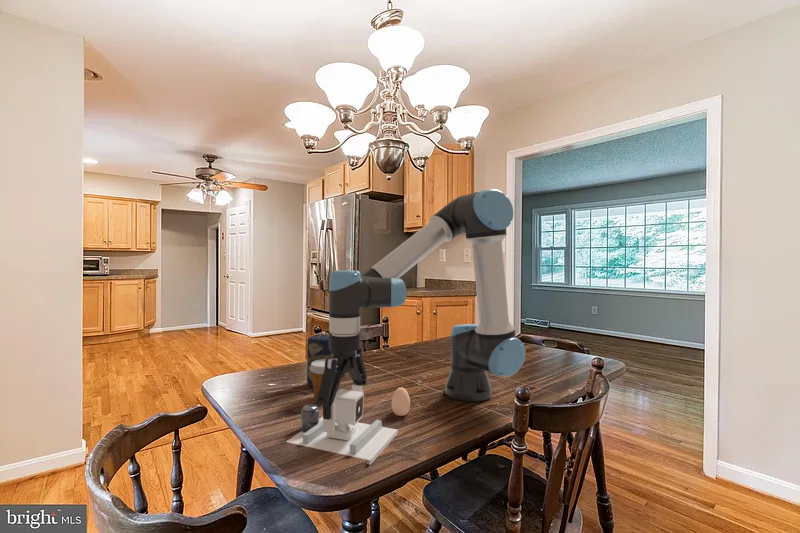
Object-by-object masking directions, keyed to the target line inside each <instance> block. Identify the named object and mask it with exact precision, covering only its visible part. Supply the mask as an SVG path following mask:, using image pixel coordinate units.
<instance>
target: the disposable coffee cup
mask: <svg viewBox="0 0 800 533" xmlns="http://www.w3.org/2000/svg"><path fill="white" fill-rule="evenodd" d="M325 360H326V359H324V360H317V361H314V362H312V363H311V366H310V371H311V374H312V382H313V386H312V390H313V398H314V401H315V402H317V397H318V393H319V389H320V385H321V381H322V377H323V373H324V369H325ZM336 372H337V371H336Z"/></svg>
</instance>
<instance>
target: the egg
mask: <svg viewBox="0 0 800 533" xmlns="http://www.w3.org/2000/svg"><path fill="white" fill-rule="evenodd" d="M410 408H411V398H410V396H409V393H408V390H406V388H404V387H398V388H397V389H395V391H394V392H393V395H392V397H391V409H392V412H393V414H394V415H396V416H398V417H399V416H400V417H402V416H403V417H404V416H406V415H407V414H408V413H409V411H410Z"/></svg>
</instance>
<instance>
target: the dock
mask: <svg viewBox="0 0 800 533" xmlns="http://www.w3.org/2000/svg"><path fill="white" fill-rule="evenodd" d="M335 423H336V422H335ZM342 424H343V423H342ZM349 425H351V424H349ZM352 426H353V425H352ZM355 426H356V431H355V433H354V434H353V435H352V436H351V437H350V438H349V440H342V439H336V438H331V437H327V432H323V416H321V417H319V423H318V424H317V425H315V426H314V427H313V428H311V429H310V430H308V431H307V432H306V433H305V432H302V431H301V430H300V431H299V432H298V433H296V434H295V435H294V436H292V437H291V438H289V439H288V440H286V441H285V442H286V443H288V444H293V445H298V446H303V447H306V448H312V449H316V450H320V451H321V450H322V451H324V452H329V453H335V454H339V455H342V456H343V455H344V456H348V457H353V458H357V459H362V460H366V462H365V463H364V464H365V465H369V466H370V465H372V463H373V462H374V461H375V460H376V459H377V457H379V455H381V453H382V452H383V451H384V450H385V449H386V447H388V445H389V444H390V443H391V441H393V439H395V437H396V436H397V435H398V433H399V432H398V430H399V429H397V428H390V427H387V426H386V427H385V426H383V424H382V420H380V419H375V421H373V422H372V423H371V424H368V423H364V422H359V421H358V422H357V424H356V425H355Z"/></svg>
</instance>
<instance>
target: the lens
mask: <svg viewBox="0 0 800 533" xmlns="http://www.w3.org/2000/svg"><path fill="white" fill-rule="evenodd" d="M300 411H301V412H300V413H301V414H300V415H301V416H300V417H301V418H300V422H301V423H300V432H301V431H302V432H305V433H306V432H307V431H308V430H310V429H311V428H313V427H314V426H315V425H317V424H318V423H319V419H320V407H318V404H313V403H309V404H306V405H303V407H302V408H301V410H300Z"/></svg>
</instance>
